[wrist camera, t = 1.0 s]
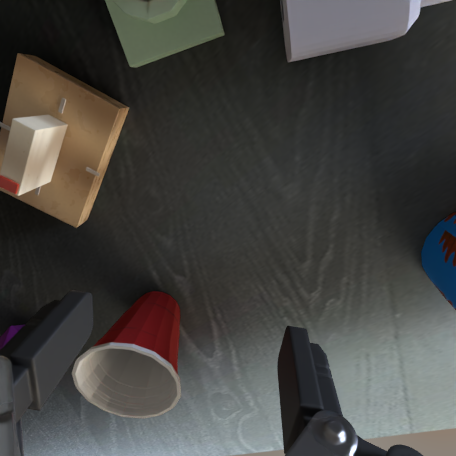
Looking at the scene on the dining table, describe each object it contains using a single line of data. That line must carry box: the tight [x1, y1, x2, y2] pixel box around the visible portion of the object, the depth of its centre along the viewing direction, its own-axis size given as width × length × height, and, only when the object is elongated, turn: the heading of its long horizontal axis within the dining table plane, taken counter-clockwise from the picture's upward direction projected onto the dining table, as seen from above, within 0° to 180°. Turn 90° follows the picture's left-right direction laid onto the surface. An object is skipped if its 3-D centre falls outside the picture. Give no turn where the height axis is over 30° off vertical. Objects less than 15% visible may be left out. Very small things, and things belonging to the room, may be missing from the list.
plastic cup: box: [72, 291, 181, 418], centre depth 37 cm, size 11×11×12 cm
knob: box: [0, 115, 68, 196], centre depth 30 cm, size 6×2×5 cm, turn 152°
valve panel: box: [0, 53, 129, 228], centre depth 33 cm, size 14×11×3 cm
